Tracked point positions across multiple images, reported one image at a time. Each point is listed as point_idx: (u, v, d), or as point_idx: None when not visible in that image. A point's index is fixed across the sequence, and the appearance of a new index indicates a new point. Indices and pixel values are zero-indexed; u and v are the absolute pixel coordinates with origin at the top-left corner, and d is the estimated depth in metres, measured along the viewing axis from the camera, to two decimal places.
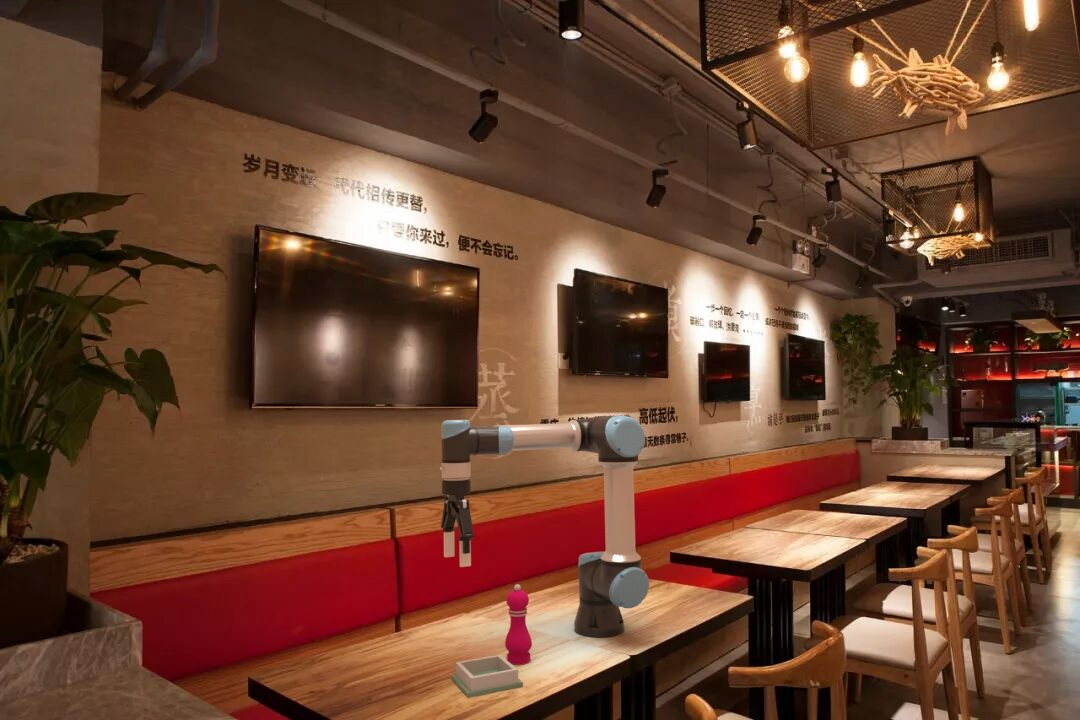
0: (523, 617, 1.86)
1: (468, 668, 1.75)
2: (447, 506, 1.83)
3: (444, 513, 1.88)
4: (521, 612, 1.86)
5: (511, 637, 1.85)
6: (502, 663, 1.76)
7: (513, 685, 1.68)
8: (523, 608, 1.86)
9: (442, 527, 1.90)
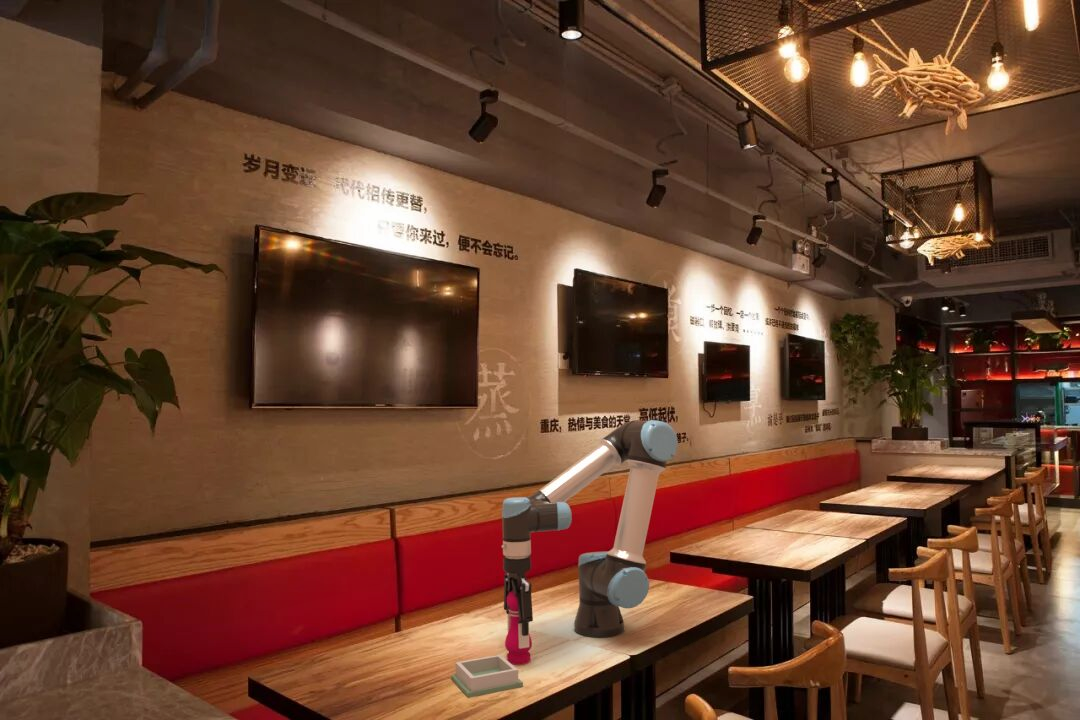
0: None
1: (468, 668, 1.75)
2: (508, 583, 1.89)
3: (506, 592, 1.93)
4: None
5: (511, 637, 1.85)
6: (502, 663, 1.76)
7: (513, 685, 1.68)
8: None
9: (505, 608, 1.93)
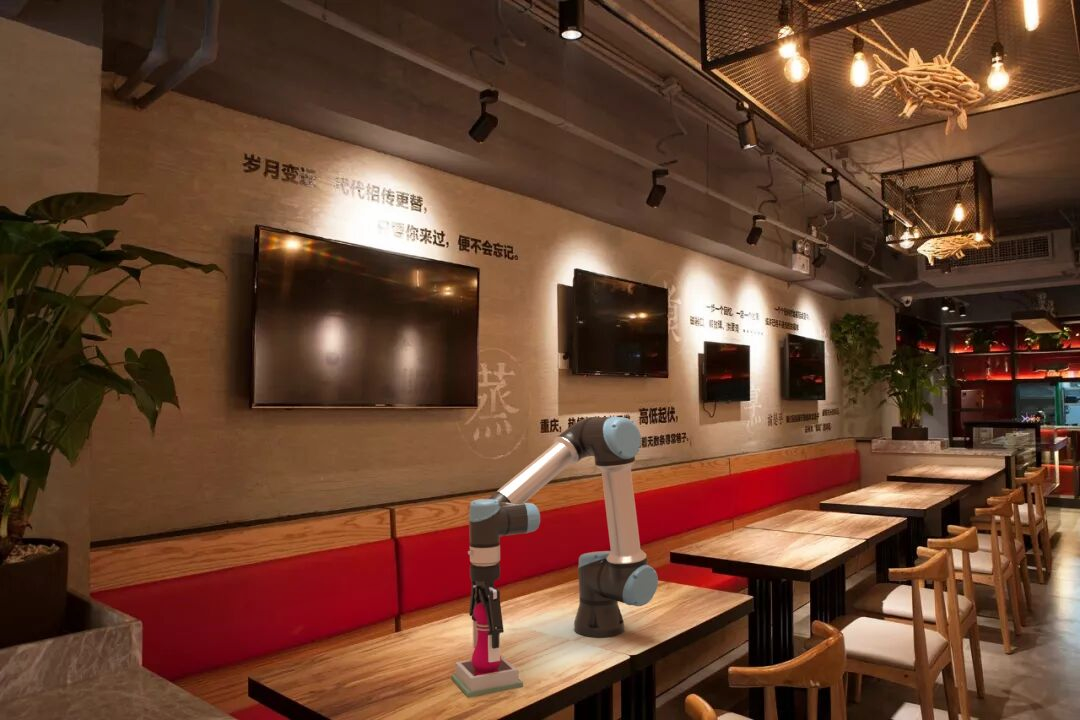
0: None
1: (468, 668, 1.75)
2: (475, 592, 1.74)
3: (472, 599, 1.79)
4: None
5: (478, 653, 1.70)
6: (502, 663, 1.76)
7: (513, 685, 1.68)
8: None
9: (471, 615, 1.80)
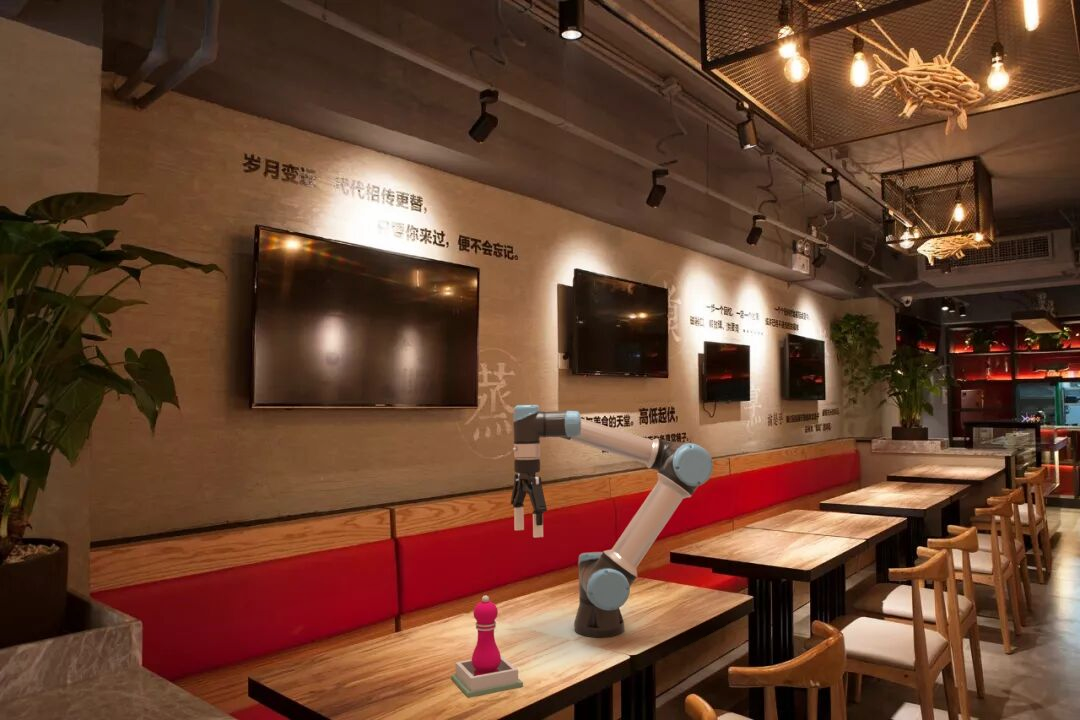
0: (491, 631, 1.71)
1: (468, 668, 1.75)
2: (519, 483, 2.01)
3: (514, 490, 2.06)
4: (489, 626, 1.71)
5: (478, 653, 1.70)
6: (502, 663, 1.76)
7: (513, 685, 1.68)
8: (491, 621, 1.71)
9: (512, 503, 2.08)
